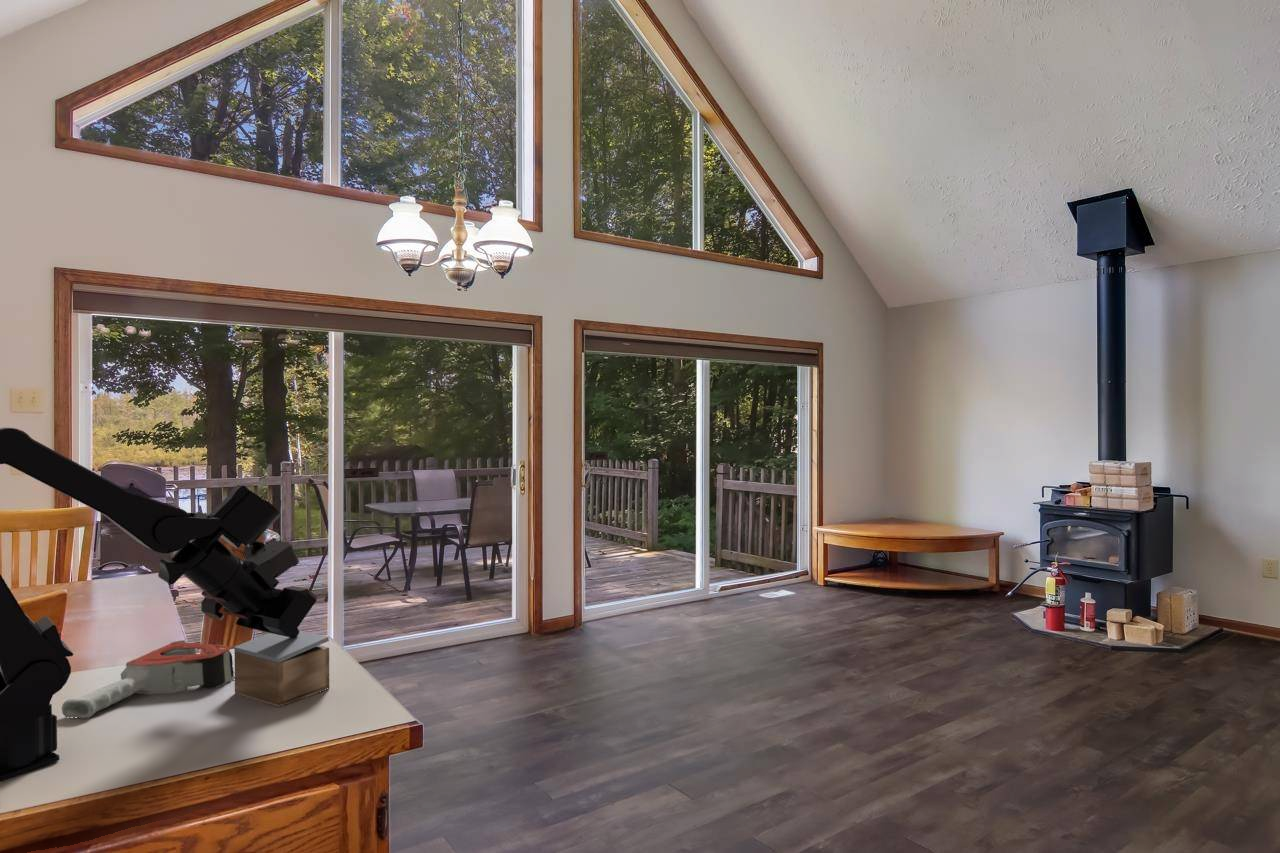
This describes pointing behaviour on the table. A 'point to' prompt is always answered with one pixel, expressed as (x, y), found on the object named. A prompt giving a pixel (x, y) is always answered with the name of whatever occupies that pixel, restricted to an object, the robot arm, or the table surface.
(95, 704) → the tape dispenser
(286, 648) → the lid
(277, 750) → the table surface
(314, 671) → the box
